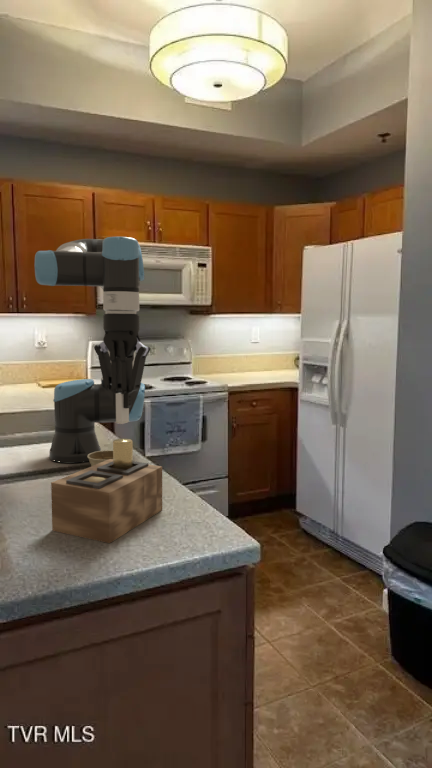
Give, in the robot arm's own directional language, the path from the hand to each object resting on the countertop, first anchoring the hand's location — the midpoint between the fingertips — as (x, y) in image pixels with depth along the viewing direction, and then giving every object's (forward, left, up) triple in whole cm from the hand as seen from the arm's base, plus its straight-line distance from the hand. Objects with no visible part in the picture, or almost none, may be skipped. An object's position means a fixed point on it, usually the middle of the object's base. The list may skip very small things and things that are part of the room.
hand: (122, 422), depth 119 cm
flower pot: (-12, -13, -21) cm, 27 cm away
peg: (0, 0, -12) cm, 12 cm away
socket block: (+5, 0, -20) cm, 21 cm away
